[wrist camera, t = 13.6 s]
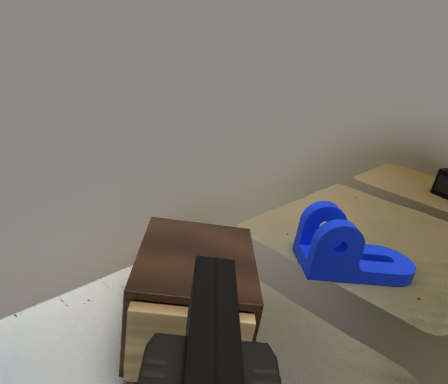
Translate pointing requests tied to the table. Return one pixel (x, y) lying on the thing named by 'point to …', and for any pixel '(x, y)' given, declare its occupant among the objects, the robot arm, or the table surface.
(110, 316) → the table surface
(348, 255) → the bracket
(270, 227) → the table surface
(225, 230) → the cabinet
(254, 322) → the drawer
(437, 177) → the digital camera
